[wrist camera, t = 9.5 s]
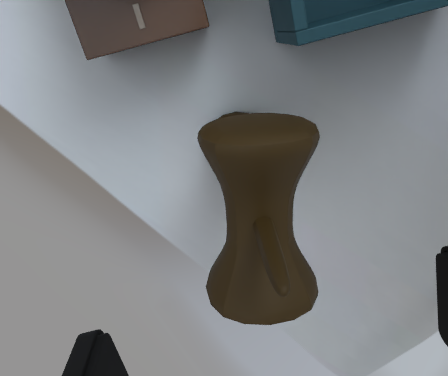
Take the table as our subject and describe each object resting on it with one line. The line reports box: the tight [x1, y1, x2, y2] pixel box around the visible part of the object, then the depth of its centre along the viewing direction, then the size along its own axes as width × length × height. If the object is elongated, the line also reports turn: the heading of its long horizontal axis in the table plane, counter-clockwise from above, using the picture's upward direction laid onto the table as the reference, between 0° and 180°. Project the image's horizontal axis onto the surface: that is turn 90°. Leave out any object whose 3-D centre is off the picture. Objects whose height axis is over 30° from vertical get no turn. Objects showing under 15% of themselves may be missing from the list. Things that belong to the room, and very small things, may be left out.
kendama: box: [197, 112, 320, 325], centre depth 23 cm, size 6×10×20 cm, turn 3°
